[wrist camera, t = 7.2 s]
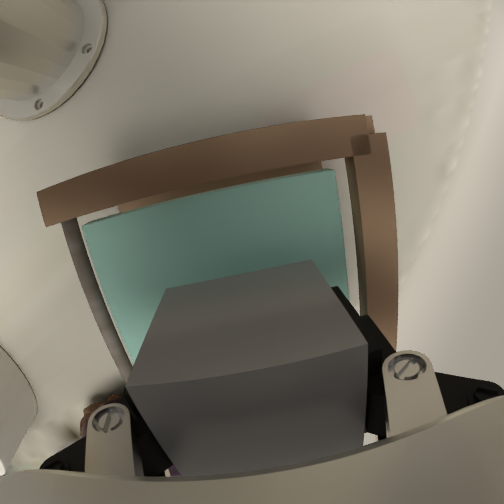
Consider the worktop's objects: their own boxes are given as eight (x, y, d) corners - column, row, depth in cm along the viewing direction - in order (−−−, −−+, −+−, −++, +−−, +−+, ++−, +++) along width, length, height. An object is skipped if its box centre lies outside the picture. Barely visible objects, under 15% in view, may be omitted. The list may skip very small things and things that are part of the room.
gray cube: (165, 288, 10) (125, 386, 6) (311, 259, 10) (367, 343, 6) (204, 394, 12) (197, 495, 7) (324, 371, 12) (360, 468, 7)
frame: (113, 174, 21) (24, 197, 10) (313, 130, 21) (382, 113, 10) (166, 345, 25) (138, 446, 15) (337, 313, 25) (390, 403, 15)
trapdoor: (90, 221, 13) (81, 226, 12) (327, 168, 13) (334, 169, 12) (157, 393, 16) (154, 405, 16) (346, 360, 16) (352, 371, 15)
